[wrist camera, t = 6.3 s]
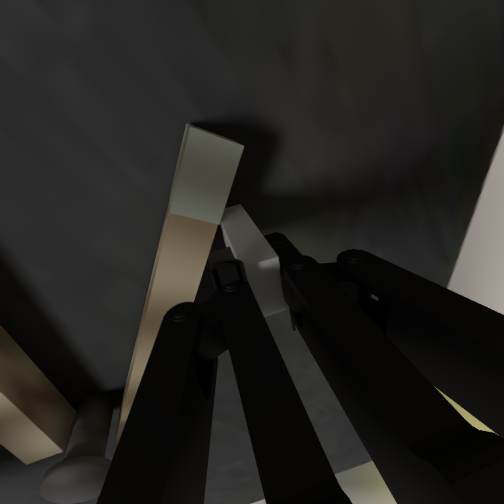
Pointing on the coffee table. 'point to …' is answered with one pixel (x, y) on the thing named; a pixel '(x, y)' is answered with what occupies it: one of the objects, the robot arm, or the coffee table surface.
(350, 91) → the coffee table surface
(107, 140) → the coffee table surface
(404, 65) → the coffee table surface
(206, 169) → the tongs jaw
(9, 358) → the tongs fixed
